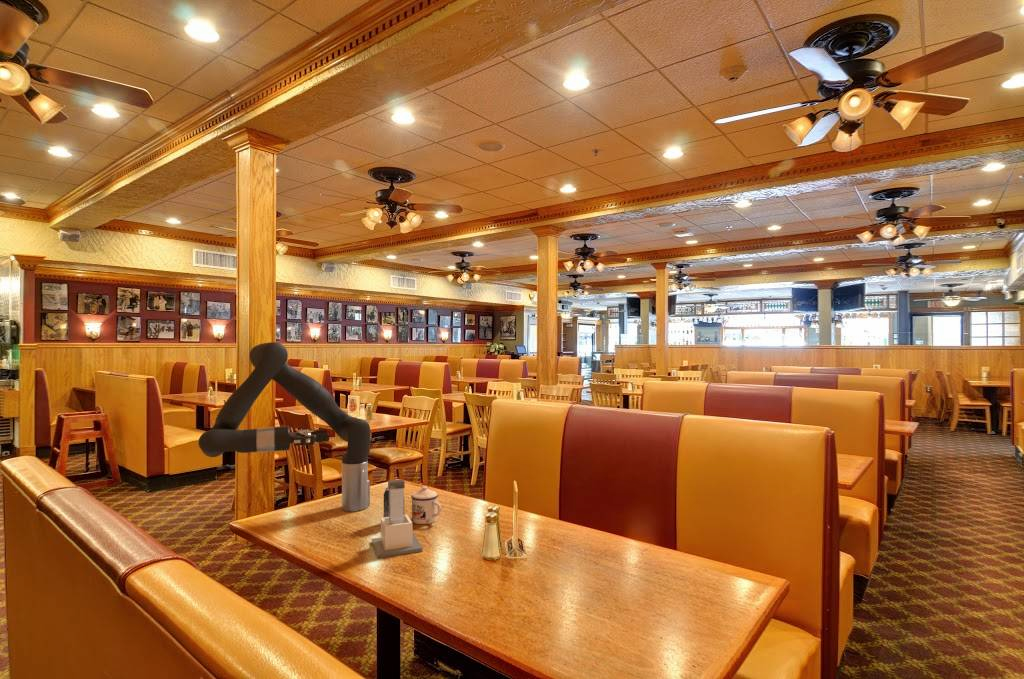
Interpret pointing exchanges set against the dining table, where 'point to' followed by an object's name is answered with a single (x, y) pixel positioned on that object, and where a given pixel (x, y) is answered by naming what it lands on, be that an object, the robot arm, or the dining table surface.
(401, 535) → the white square socket
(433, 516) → the teacup with lid
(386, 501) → the soda can
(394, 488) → the white grey rectangular bar
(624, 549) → the dining table surface
